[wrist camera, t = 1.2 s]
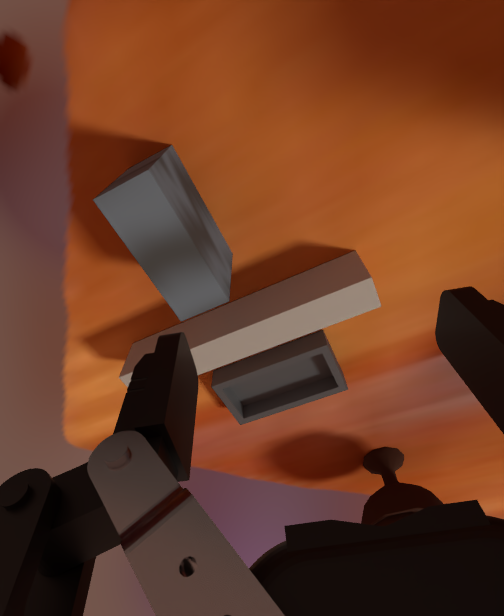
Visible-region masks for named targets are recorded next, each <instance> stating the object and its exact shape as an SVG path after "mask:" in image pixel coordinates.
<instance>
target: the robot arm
mask: <svg viewBox="0 0 504 616" xmlns="http://www.w3.org/2000/svg"><path fill="white" fill-rule="evenodd" d="M435 335H436V341H437V344H438V347H439V349H440V350H441V352H442V353H443V355H444V356H445V357H446V359H447V360H448V361H449V362H450V364H451V365H452V366H453V368H454V369H455V370H456V372H457V373H458V374H459V376H460V377H461V378H462V380H463V381H464V382H465V384H466V385H467V386H468V388H469V389H470V390H471V392H472V393H473V394H474V395H475V397H476V398H477V399H478V401H479V402H480V403H481V405H482V406H483V407H484V409H485V410H486V411H487V413H488V414H489V415H490V417H491V418H492V419H493V421H494V422H495V423H496V424H497V426H498V427H499V428H500V430H501V431H502V432H503V434H504V305H503V304H501V303H499V302H496V301H494V300H487V299H486V298H485V297H484V296H483V295H482V294H481V293H479V292H478V291H477V290H476V289H475V288H473V287H463V288H457V289H451V290H445V291H443V292H442V294H441V297H440V303H439V310H438V317H437V324H436V331H435ZM197 395H198V375H197V370H196V366H195V363H194V360H193V357H192V354H191V351H190V348H189V345H188V342H187V338H186V336H185V334H184V332H179V333H173V334H166V335H160V336H159V337H158V340H157V344H156V348H155V351H154V353H148V354H144V356H143V357H142V358H141V359H140V361H139V362H138V363H137V364H136V365H135V367H134V370H133V373H132V376H131V382H130V383H129V386H128V389H127V393H126V395H125V398H124V401H123V405H122V408H121V411H120V414H119V417H118V420H117V423H116V426H115V430H114V433H113V435H111V436H109V437H108V438H106V439H105V440H103V441H102V442H101V443H100V444H99V445H98V446H97V447H96V448H95V449H94V451H93V452H92V454H91V456H90V458H89V461H88V462H87V463H85V464H83V465H81V466H79V467H76V468H74V469H72V470H69V471H67V472H65V473H62V474H60V475H58V476H55V477H53V478H51V476H50V475H49V474H48V473H47V472H46V471H45V470H43V469H38V468H35V469H28V470H25V471H22V472H20V473H18V474H16V475H14V476H13V477H11V478H9V479H8V480H7V481H5V482H4V483H3V484H2V485H1V486H0V616H83V613H84V608H85V604H86V599H87V595H88V590H89V586H90V581H91V577H92V572H93V568H94V563H95V559H96V556H97V555H99V554H101V553H103V552H106V551H108V550H110V549H112V548H114V547H116V546H118V545H120V544H121V546H122V548H123V550H124V553H125V555H126V557H127V559H128V561H129V562H130V565H131V567H132V569H133V570H134V573H135V575H136V577H137V579H138V581H139V583H140V584H141V587H142V589H143V591H144V593H145V594H146V597H147V599H148V601H149V603H150V605H151V607H152V609H153V611H154V613H155V615H156V616H504V519H500V518H496V517H491V516H486V515H485V513H484V511H483V510H482V508H481V506H480V505H479V503H478V501H477V500H472V501H464V502H457V503H450V504H442V505H435V506H428V507H426V508H424V509H422V510H420V511H418V512H415V513H413V514H411V515H409V516H407V517H404V518H402V519H400V520H398V521H396V522H394V523H391V524H389V525H386V526H375V525H367V524H360V523H352V522H344V521H337V520H325V521H318V522H311V523H303V524H296V525H289V526H285V533H286V541H284V542H282V543H280V544H278V545H276V546H275V547H273V548H271V549H270V550H268V551H267V552H266V553H265V554H263V555H262V556H261V557H260V558H259V559H257V561H256V562H255V563H254V564H253V565H252V566H251V567H250V568H248V567H247V566H246V564H245V563H244V562H243V560H242V559H241V558H240V557H239V555H238V554H237V553H236V551H235V550H234V549H233V547H232V546H231V545H230V543H229V542H228V541H227V540H226V538H225V537H224V536H223V534H222V533H221V532H220V530H219V529H218V528H217V527H216V525H215V524H214V523H213V521H212V520H211V519H210V517H209V516H208V515H207V513H206V512H205V511H204V509H203V508H202V507H201V506H200V504H199V503H198V502H197V500H196V499H195V498H194V496H193V495H192V494H191V493H190V492H189V490H187V489H186V488H184V489H183V488H182V487H181V486H180V484H179V483H178V482H179V481H187V480H189V477H190V467H191V456H192V446H193V436H194V426H195V415H196V405H197Z"/></svg>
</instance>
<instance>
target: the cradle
mask: <svg viewBox="0 0 504 616" xmlns="http://www.w3.org/2000/svg"><path fill="white" fill-rule="evenodd" d="M211 387H212V388H213V390H214V391H215V392H216V393H217V395H218V396H219V397H220V399H221V400H222V401H223V403H224V404H225V405H226V407H227V408H228V409H229V411H230V412H231V413H232V415H233V416H234V417H235V418H236V420H237V421H238V422H239V424H240V425H242V424H245V423H248V422H251V421H254V420H257V419H260V418H263V417H266V416H269V415H272V414H275V413H278V412H281V411H284V410H287V409H291V408H294V407H297V406H300V405H303V404H306V403H309V402H312V401H315V400H318V399H321V398H324V397H327V396H330V395H333V394H336V393H339V392H342V391H345V390H348V387H347V384H346V381H345V378H344V375H343V372H342V370H341V368H340V366H339V364H338V361H337V359H336V357H335V355H334V353H333V351H332V348H331V346H330V344H329V342H328V340H327V338H326V336H325V333H324V331H323V330H321V331H318V332H316V333H313V334H310V335H308V336H305V337H302V338H300V339H297V340H294V341H292V342H289V343H286V344H284V345H281V346H278V347H276V348H273V349H270V350H268V351H265V352H262V353H260V354H257V355H254V356H252V357H249V358H246V359H244V360H241V361H238V362H236V363H233V364H230V365H228V366H225V367H222V368H220V369H217V370H214V371H213V377H212V386H211Z"/></svg>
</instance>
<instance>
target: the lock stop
mask: <svg viewBox="0 0 504 616" xmlns="http://www.w3.org/2000/svg"><path fill="white" fill-rule="evenodd" d="M93 201H94V202H95V203H96V205H97V206H98V208H99V209H100V210H101V212H102V213H103V214H104V216H105V217H106V219H107V220H108V221H109V223H110V224H111V226H112V227H113V228H114V230H115V231H116V232H117V234H118V235H119V237H120V238H121V239H122V241H123V242H124V243H125V245H126V246H127V248H128V249H129V250H130V252H131V253H132V255H133V256H134V257H135V259H136V260H137V261H138V263H139V264H140V266H141V267H142V268H143V270H144V271H145V272H146V274H147V275H148V277H149V278H150V279H151V281H152V282H153V284H154V285H155V286H156V288H157V289H158V290H159V292H160V293H161V295H162V296H163V297H164V299H165V300H166V301H167V303H168V304H169V306H170V307H171V308H172V310H173V311H174V312H175V314H176V315H177V317H178V318H179V319H180V321H184V320H186V319H188V318H191V317H193V316H196V315H198V314H200V313H203V312H205V311H207V310H210V309H212V308H215V307H217V306H219V305H222V304H224V303H227V302H229V298H230V283H231V269H232V255H233V254H232V252H231V250H230V248H229V246H228V245H227V243H226V241H225V239H224V237H223V236H222V234H221V232H220V230H219V228H218V227H217V225H216V223H215V221H214V220H213V218H212V216H211V214H210V212H209V211H208V209H207V207H206V205H205V203H204V202H203V200H202V198H201V196H200V194H199V193H198V191H197V189H196V187H195V185H194V184H193V182H192V180H191V178H190V176H189V175H188V173H187V171H186V169H185V167H184V166H183V164H182V162H181V160H180V158H179V157H178V155H177V153H176V151H175V149H174V148H173V146H172V145H171V146H169V147H167V148H165V149H163V150H162V151H160V152H158V153H156V154H154V155H153V156H151V157H149V158H147V159H145V160H143V161H142V162H140V163H138V164H136V165H134V166H133V167H131V168H129V169H128V170H126V171H125V172H124V173H123V174H122V175H121V176H119V177H118V178H117V179H116V180H115V181H114V182H113V183H111V184H110V185H109V186H108V187H107V188H106V189H105V190H103V191H102V192H101V193H100V194H99V195H98V196H97V197H95V198H94V199H93Z"/></svg>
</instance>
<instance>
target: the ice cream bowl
mask: <svg viewBox="0 0 504 616" xmlns="http://www.w3.org/2000/svg"><path fill="white" fill-rule="evenodd" d="M403 461H404V455H403V454H402V453H401V452H400V451H399V450H398V449H396V448H389V447H384V448H380V449H376V450H373V451H371V452H370V453H369V454H367V455H366V456H365V457H364V462H363V465H364V467H365V468H366V469H367V470H368V471H369V472H370V473H373V474H380V475H381V476H382V478H383V481H384V484H385V485H384V487H382V488H381V489H379V490H378V491H376V492H375V493H374V494H373V495H372V496H370V498H369V499H368V501H367V502H366V504H365V505H364V510H363V516H362V522H361V524H367V525H375V526H386V525H389V524H391V523H394V522H396V521H398V520H400V519H402V518H404V517H407V516H409V515H411V514H413V513H415V512H418V511H420V510H422V509H424V508H426V507H428V506H435V505H442V504H443V503H442V502H441V501H440V500H439V499H438V498H437V497H436V496H435V495H434V494H433V493H432V492H431V491H429V490H427V489H425V488H423V487H421V486H417V485H412V484H406V483H399V482H398V480H397V477H396V474H395V471H396V470H397V469H399V468H400V467H401V466H402V465H403Z"/></svg>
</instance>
